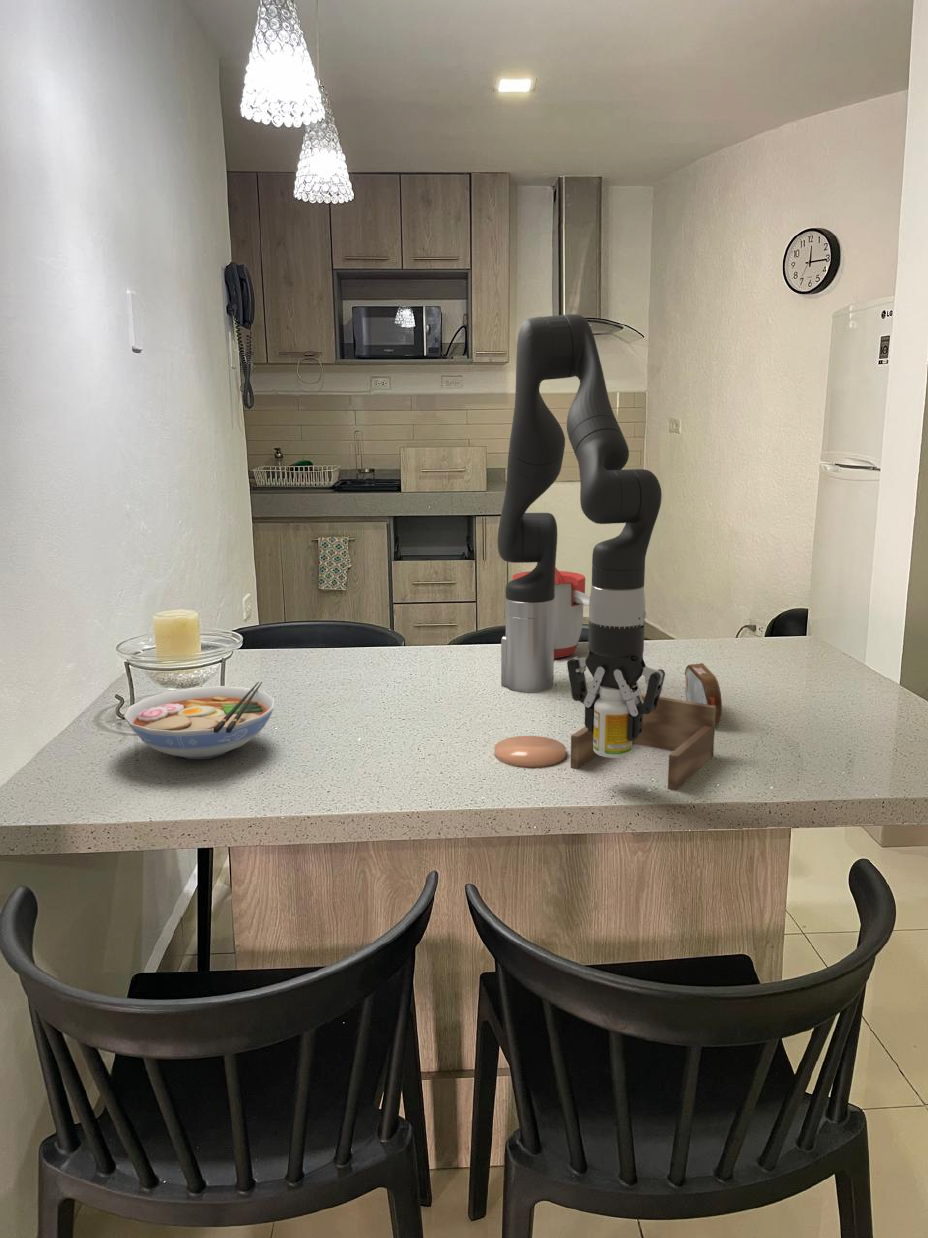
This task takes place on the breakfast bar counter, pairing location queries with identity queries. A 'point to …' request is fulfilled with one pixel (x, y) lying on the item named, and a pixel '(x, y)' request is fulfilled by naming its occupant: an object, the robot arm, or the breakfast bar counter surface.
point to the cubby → (666, 737)
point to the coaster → (530, 751)
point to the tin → (703, 687)
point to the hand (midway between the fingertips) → (613, 734)
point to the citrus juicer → (567, 610)
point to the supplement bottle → (611, 724)
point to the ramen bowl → (200, 719)
